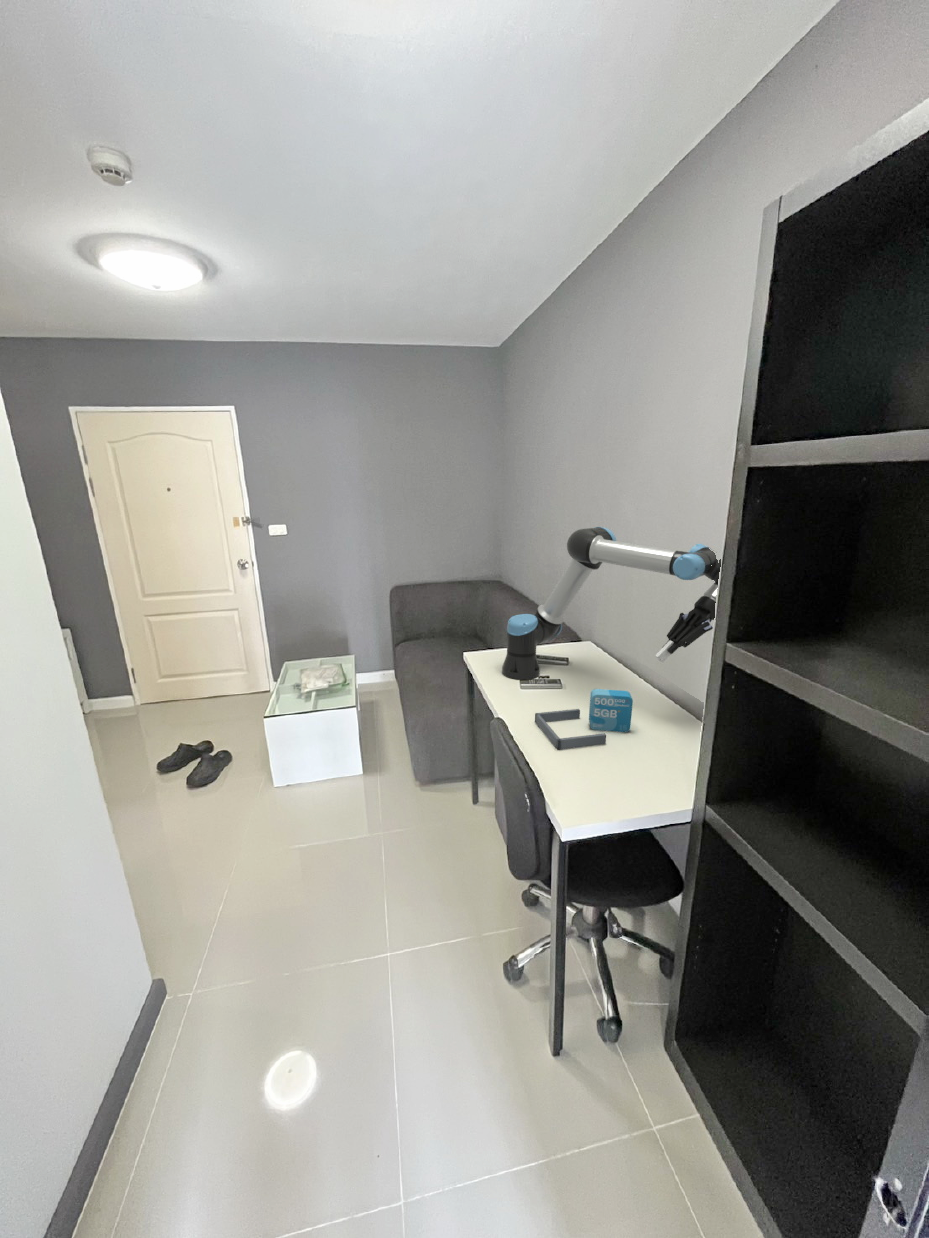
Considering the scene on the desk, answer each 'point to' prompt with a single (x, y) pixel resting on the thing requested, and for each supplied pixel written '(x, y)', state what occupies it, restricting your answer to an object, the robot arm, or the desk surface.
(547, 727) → the dock bay
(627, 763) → the desk surface
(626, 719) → the data package
